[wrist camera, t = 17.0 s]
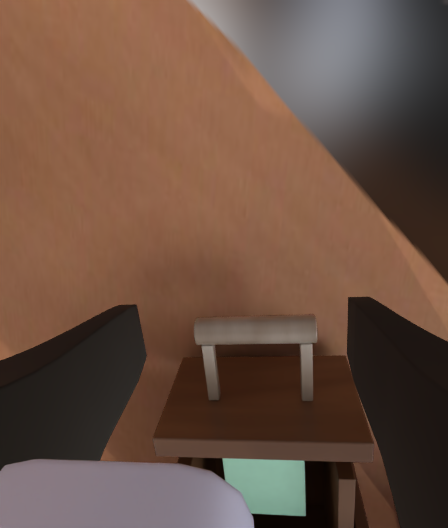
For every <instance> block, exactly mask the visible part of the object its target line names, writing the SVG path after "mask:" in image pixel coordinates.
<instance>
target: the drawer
mask: <svg viewBox="0 0 448 528" xmlns="http://www.w3.org/2000/svg"><path fill="white" fill-rule="evenodd" d="M194 339H195V342H196V344H197V345H202V354H203V357H184V358H183V360H182V362H181V365H180V367H179V370H178V373H177V375H176V378H175V381H174V383H173V386H172V389H171V391H170V394H169V397H168V399H167V402H166V405H165V407H164V410H163V413H162V415H161V418H160V420H159V423H158V426H157V428H156V431H155V434H154V436H153V443H154V448H155V452H156V456H162V457H179V459H178V462H177V463H179V464H184V465H188V466H192V467H197V468H201V469H205V470H210V471H212V472H213V473H215V474H216V475H218V476H219V477H221V478H222V479H223V480H225V476H224V469H223V461H222V458H229V459H262V460H295V461H305V494H306V516H290V515H271V514H252V516H253V520H254V528H354V508H355V482H356V479H355V475H354V471H353V467H352V463H351V462H362V463H372V462H373V453H374V442H373V439H372V436H371V433H370V430H369V427H368V423H367V420H366V417H365V414H364V411H363V408H362V405H361V402H360V399H359V396H358V392H357V389H356V386H355V384H354V381H353V377H352V374H351V371H350V368H349V365H348V361H347V358H346V356H313V350H312V343H317V322H316V316H315V315H314V314H307V315H270V316H233V317H198V318H196V320H195V323H194ZM294 343H299V344H300V356H261V357H216V351H215V345H232V344H294Z"/></svg>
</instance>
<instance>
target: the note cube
mask: <svg viewBox="0 0 448 528" xmlns="http://www.w3.org/2000/svg"><path fill="white" fill-rule="evenodd" d="M222 461H223V469H224V476H225V481H226V482H228V483H229V484H230V485H232V486H233V487H235V488H236V489H237V490H238V491H240V492H241V493H242V495H243V497H244V500H245V502H246V504H247V506H248V508H249V510H250V512H251V514H271V515H290V516H306V494H305V461H295V460H262V459H229V458H222Z"/></svg>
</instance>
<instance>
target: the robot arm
mask: <svg viewBox="0 0 448 528" xmlns="http://www.w3.org/2000/svg"><path fill="white" fill-rule="evenodd" d="M347 355H348V360H349V364H350V369H351V373H352V377H353V381H354V384H355V386H356V389H357V392H358V394H359V397H360V400H361V402H362V405H363V407H364V410H365V413H366V415H367V418H368V420H369V423H370V425H371V428H372V431H373V433H374V436H375V438H376V441H377V444H378V447H379V450H380V453H381V456H382V459H383V462H384V466H385V470H386V473H387V477H388V481H389V484H390V488H391V492H392V496H393V500H394V504H395V508H396V511H397V515H398V519H399V523H400V527H401V528H448V342H447V341H445V340H443V339H441V338H439V337H437V336H435V335H433V334H431V333H430V332H428V331H426V330H424V329H422V328H420V327H418V326H417V325H415V324H413V323H412V322H410V321H408V320H406V319H405V318H403V317H402V316H400V315H398V314H397V313H395V312H393V311H392V310H390V309H389V308H387V307H386V306H384V305H382V304H381V303H379V302H378V301H376V300H374V299H372V298H370V297H348V334H347ZM146 356H147V354H146V349H145V344H144V339H143V334H142V329H141V324H140V319H139V314H138V309H137V305H118V306H116V307H113V308H111V309H109V310H107V311H105V312H103V313H101V314H99V315H97V316H95V317H93V318H91V319H89V320H87V321H86V322H84V323H82V324H80V325H78V326H76V327H74V328H72V329H71V330H69V331H66V332H64V333H62V334H60V335H58V336H56V337H54V338H52V339H50V340H48V341H46V342H44V343H42V344H40V345H38V346H36V347H33V348H31V349H29V350H26V351H24V352H21V353H19V354H16V355H14V356H12V357H9V358H6V359H4V360H1V361H0V528H254V520H253V516H252V514H251V512H250V510H249V508H248V506H247V504H246V502H245V500H244V497H243V495H242V493H241V492H240V491H238V490H237V489H236V488H235V487H233V486H232V485H230V484H229V483H228V482H226V481H225V480H223V479H222V478H221V477H219V476H218V475H216V474H215V473H213V472H212V471H210V470H205V469H201V468H197V467H192V466H188V465H184V464H179V463H150V462H119V461H100V459H101V456H102V453H103V451H104V449H105V447H106V444H107V442H108V440H109V438H110V436H111V434H112V432H113V430H114V428H115V426H116V424H117V422H118V420H119V418H120V416H121V414H122V413H123V411H124V409H125V407H126V405H127V403H128V401H129V399H130V397H131V395H132V393H133V391H134V389H135V387H136V385H137V383H138V381H139V378H140V375H141V372H142V369H143V366H144V363H145V360H146Z"/></svg>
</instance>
